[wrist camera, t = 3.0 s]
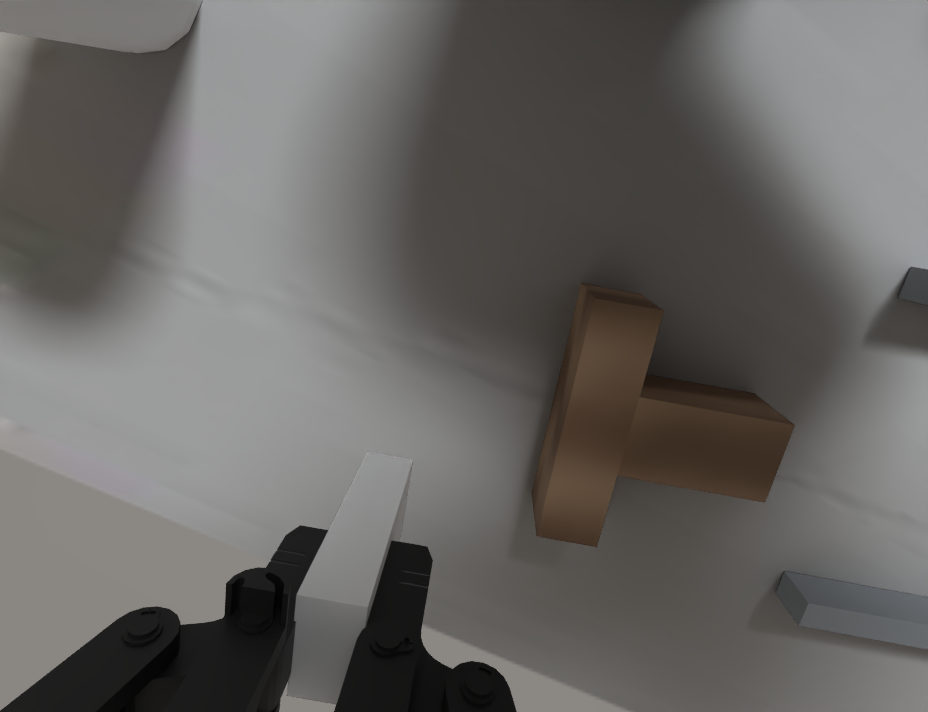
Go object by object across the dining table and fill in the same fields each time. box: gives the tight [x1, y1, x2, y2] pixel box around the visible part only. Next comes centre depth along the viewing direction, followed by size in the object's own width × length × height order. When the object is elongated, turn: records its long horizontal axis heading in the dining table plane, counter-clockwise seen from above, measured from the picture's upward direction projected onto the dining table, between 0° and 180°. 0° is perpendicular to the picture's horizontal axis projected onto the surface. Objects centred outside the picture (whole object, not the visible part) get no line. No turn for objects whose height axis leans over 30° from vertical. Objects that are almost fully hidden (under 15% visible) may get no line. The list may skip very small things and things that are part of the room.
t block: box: [532, 284, 795, 547], centre depth 27 cm, size 12×10×4 cm
